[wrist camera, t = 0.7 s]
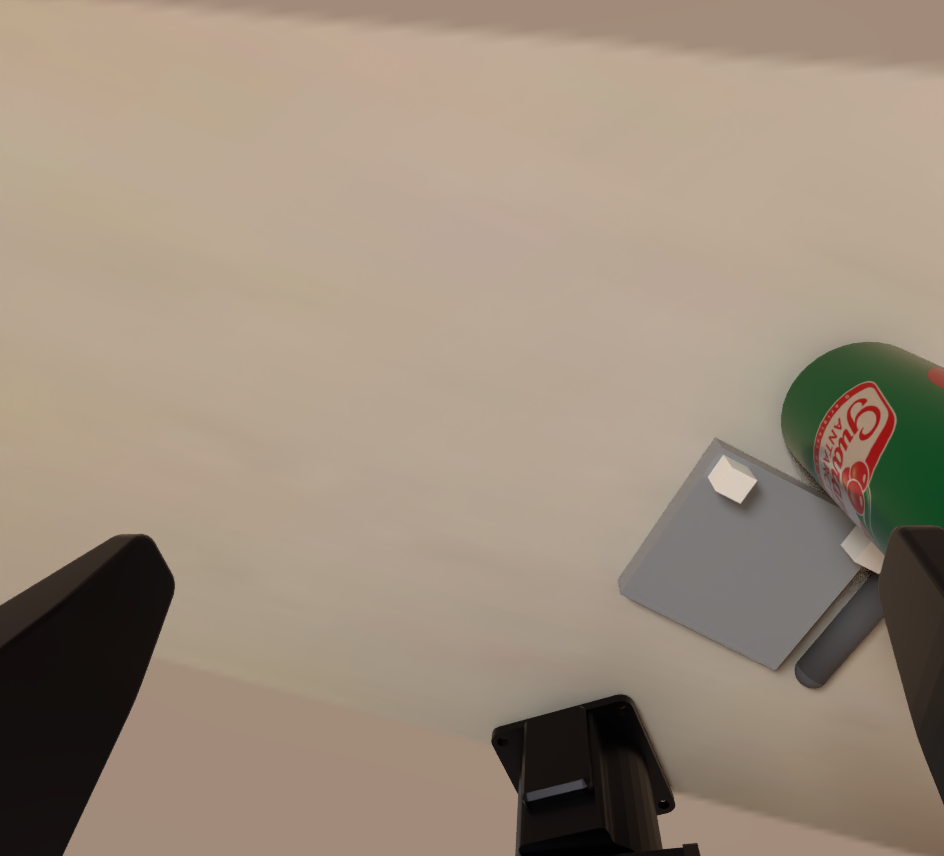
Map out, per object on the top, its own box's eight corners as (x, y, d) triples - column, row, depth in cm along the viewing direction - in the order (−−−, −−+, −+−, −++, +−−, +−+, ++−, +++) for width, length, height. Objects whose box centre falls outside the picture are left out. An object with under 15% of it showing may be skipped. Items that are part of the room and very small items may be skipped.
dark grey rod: (809, 679, 28) (820, 699, 27) (784, 666, 28) (794, 686, 27) (924, 546, 26) (942, 563, 25) (897, 532, 26) (913, 548, 25)
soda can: (781, 341, 24) (991, 480, 13) (937, 334, 23) (1305, 473, 12) (770, 474, 25) (947, 703, 14) (915, 471, 25) (1220, 707, 14)
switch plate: (767, 654, 28) (784, 691, 26) (617, 580, 28) (623, 612, 25) (877, 521, 26) (906, 550, 24) (715, 437, 25) (730, 460, 23)
